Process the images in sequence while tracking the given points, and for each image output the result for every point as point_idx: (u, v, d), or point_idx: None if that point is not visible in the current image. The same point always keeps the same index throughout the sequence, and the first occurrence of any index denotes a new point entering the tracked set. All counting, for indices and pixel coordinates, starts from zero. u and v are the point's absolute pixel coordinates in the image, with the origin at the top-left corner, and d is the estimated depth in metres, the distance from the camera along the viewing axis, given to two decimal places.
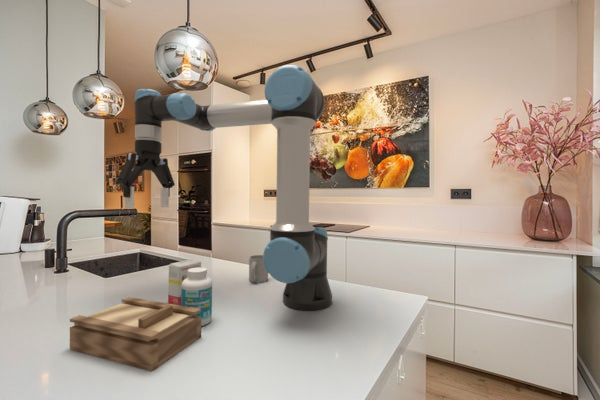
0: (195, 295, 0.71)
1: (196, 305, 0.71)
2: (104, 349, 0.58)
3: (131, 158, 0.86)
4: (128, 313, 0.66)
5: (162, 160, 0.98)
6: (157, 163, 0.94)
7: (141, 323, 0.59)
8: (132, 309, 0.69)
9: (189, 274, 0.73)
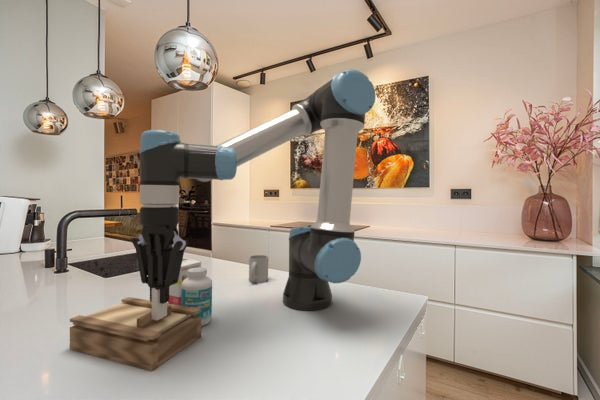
0: (195, 295, 0.71)
1: (196, 305, 0.71)
2: (104, 349, 0.58)
3: None
4: (126, 313, 0.66)
5: (177, 241, 0.60)
6: (157, 241, 0.60)
7: (139, 323, 0.59)
8: (131, 309, 0.69)
9: (189, 274, 0.73)
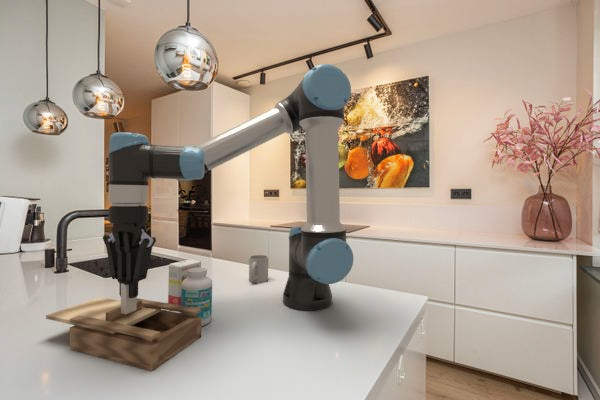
0: (195, 295, 0.71)
1: (196, 305, 0.71)
2: (104, 349, 0.58)
3: None
4: (99, 308, 0.69)
5: (144, 238, 0.63)
6: (125, 239, 0.63)
7: (108, 316, 0.62)
8: (104, 304, 0.72)
9: (189, 274, 0.73)
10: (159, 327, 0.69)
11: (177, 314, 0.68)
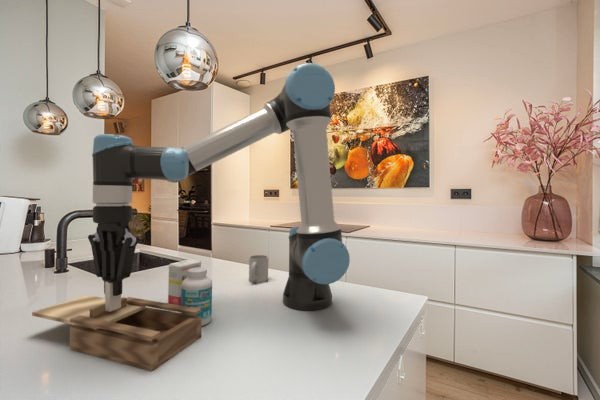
0: (195, 295, 0.71)
1: (196, 305, 0.71)
2: (104, 349, 0.58)
3: None
4: (85, 305, 0.71)
5: (127, 238, 0.64)
6: (109, 238, 0.64)
7: (92, 313, 0.63)
8: (90, 301, 0.73)
9: (189, 274, 0.73)
10: (159, 327, 0.69)
11: (177, 314, 0.68)
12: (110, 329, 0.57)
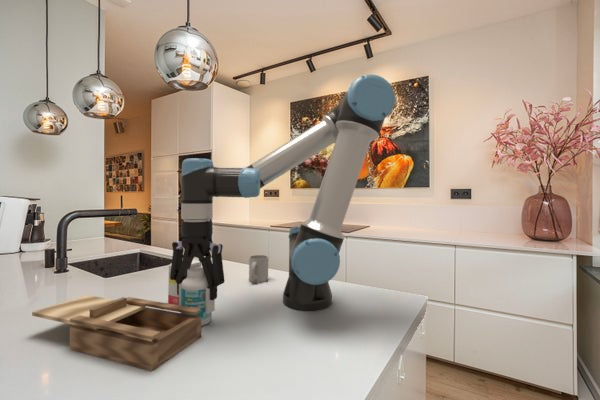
0: (195, 295, 0.71)
1: (195, 305, 0.71)
2: (104, 349, 0.58)
3: None
4: (85, 305, 0.71)
5: None
6: (197, 250, 0.72)
7: (92, 313, 0.63)
8: (90, 301, 0.73)
9: (189, 274, 0.73)
10: (159, 327, 0.69)
11: (177, 314, 0.68)
12: (110, 329, 0.57)
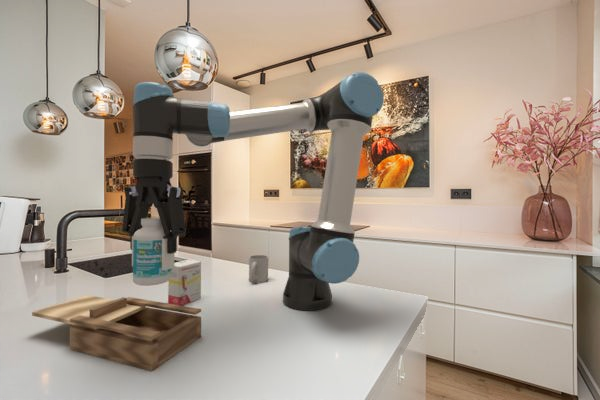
0: (149, 247, 0.59)
1: (149, 258, 0.59)
2: (104, 349, 0.58)
3: None
4: (85, 305, 0.71)
5: None
6: (152, 193, 0.60)
7: (92, 313, 0.63)
8: (90, 301, 0.73)
9: (142, 222, 0.61)
10: (159, 327, 0.69)
11: (177, 314, 0.68)
12: (110, 329, 0.57)
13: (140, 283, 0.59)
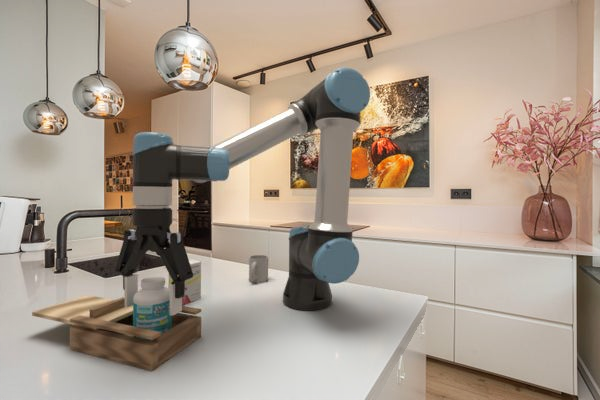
0: (149, 311, 0.59)
1: (149, 322, 0.59)
2: (104, 349, 0.58)
3: None
4: (85, 305, 0.71)
5: None
6: (152, 242, 0.60)
7: (92, 313, 0.63)
8: (90, 301, 0.73)
9: (142, 285, 0.61)
10: None
11: (177, 314, 0.68)
12: (110, 329, 0.57)
13: None
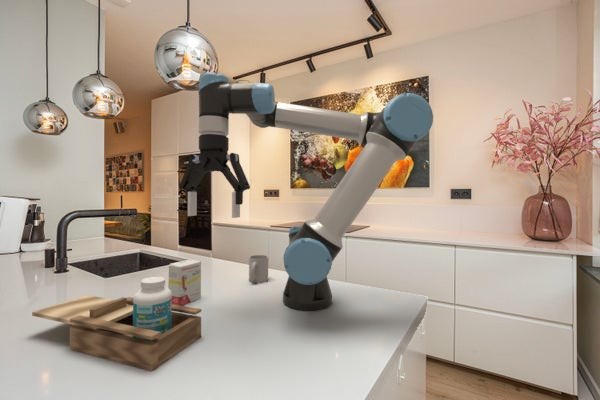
0: (149, 311, 0.59)
1: (149, 323, 0.59)
2: (104, 349, 0.58)
3: None
4: (85, 305, 0.71)
5: None
6: (215, 161, 0.75)
7: (92, 313, 0.63)
8: (90, 301, 0.73)
9: (142, 285, 0.61)
10: None
11: (177, 314, 0.68)
12: (110, 329, 0.57)
13: None
